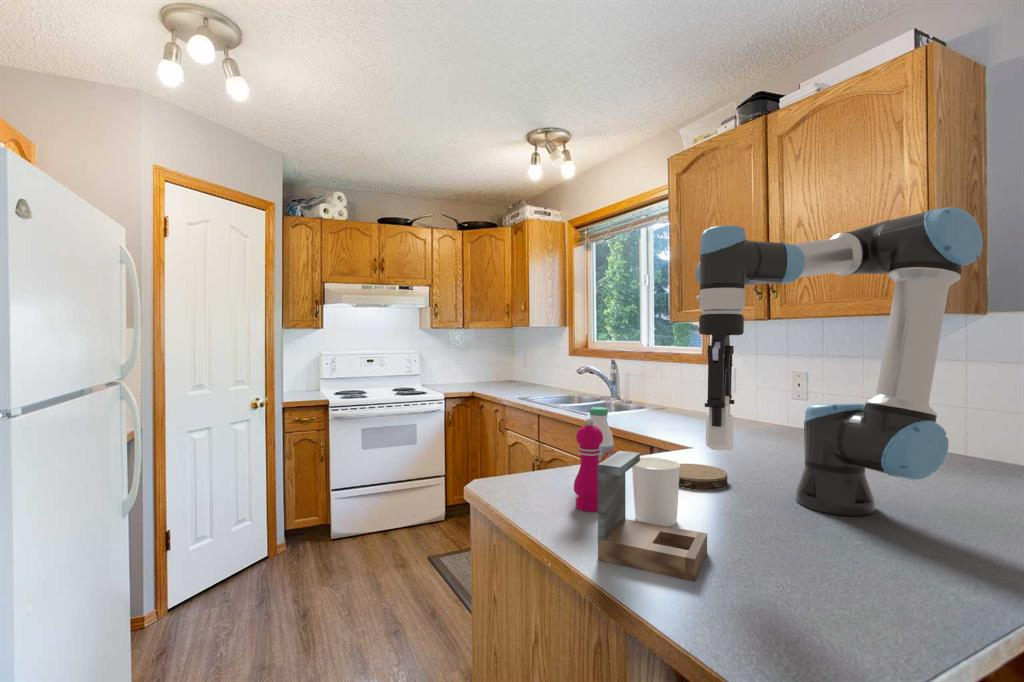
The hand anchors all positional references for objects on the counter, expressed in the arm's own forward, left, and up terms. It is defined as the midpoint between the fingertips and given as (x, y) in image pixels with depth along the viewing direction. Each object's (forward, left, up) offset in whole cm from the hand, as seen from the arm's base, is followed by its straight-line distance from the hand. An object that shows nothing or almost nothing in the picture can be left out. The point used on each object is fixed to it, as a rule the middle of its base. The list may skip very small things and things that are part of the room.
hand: (719, 441), depth 93 cm
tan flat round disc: (+12, -42, -20) cm, 48 cm away
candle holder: (+14, -8, -20) cm, 25 cm away
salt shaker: (0, 0, -1) cm, 1 cm away
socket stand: (+10, +10, -19) cm, 24 cm away
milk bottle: (+33, -26, -20) cm, 46 cm away
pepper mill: (+29, -9, -20) cm, 36 cm away
